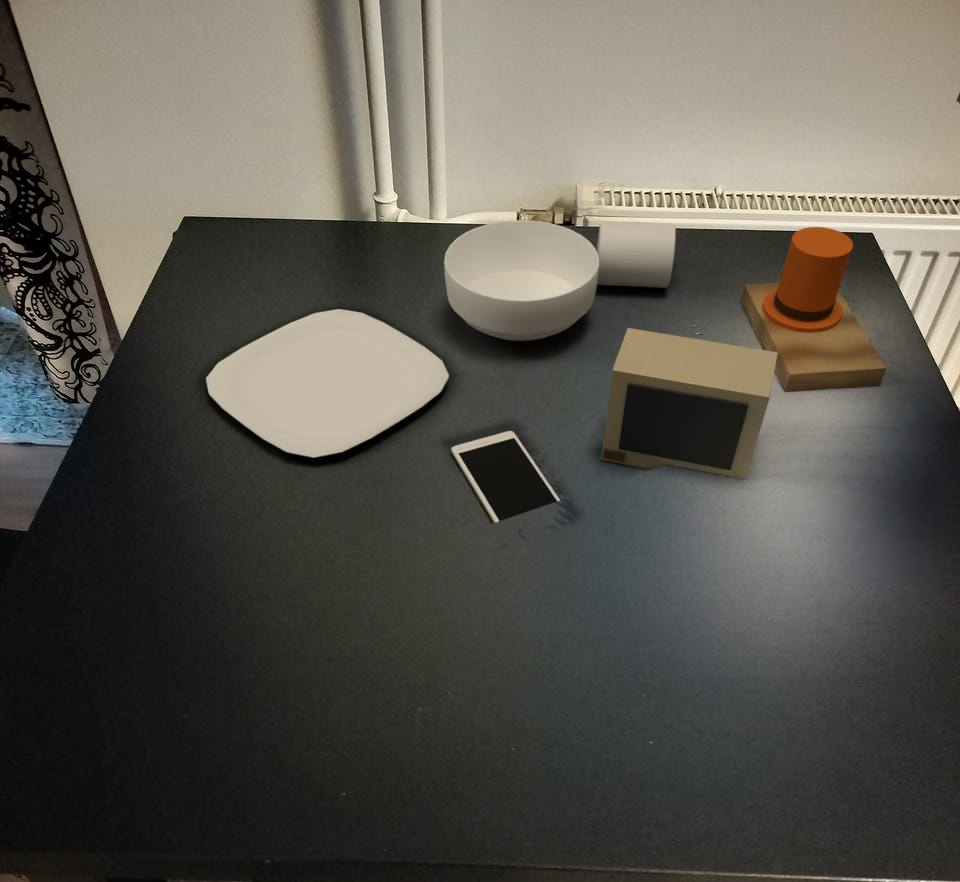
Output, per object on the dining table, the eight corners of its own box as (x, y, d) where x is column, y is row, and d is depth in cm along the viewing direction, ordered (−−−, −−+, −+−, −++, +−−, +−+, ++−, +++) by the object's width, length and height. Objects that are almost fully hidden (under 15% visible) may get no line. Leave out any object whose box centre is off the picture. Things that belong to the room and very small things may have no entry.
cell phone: (505, 543, 93) (505, 539, 92) (450, 451, 102) (449, 446, 101) (573, 523, 95) (573, 518, 94) (512, 433, 104) (512, 429, 103)
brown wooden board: (880, 385, 109) (887, 367, 107) (784, 391, 108) (790, 374, 106) (826, 296, 121) (831, 279, 119) (740, 301, 121) (744, 284, 119)
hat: (853, 306, 115) (878, 237, 108) (821, 341, 111) (844, 272, 103) (783, 281, 119) (801, 213, 112) (748, 314, 114) (766, 245, 107)
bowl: (623, 316, 119) (631, 255, 112) (526, 381, 110) (528, 320, 104) (514, 264, 127) (516, 205, 121) (416, 321, 119) (411, 260, 112)
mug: (667, 299, 121) (677, 242, 115) (594, 296, 122) (599, 239, 116) (664, 254, 129) (673, 198, 122) (595, 251, 129) (601, 195, 123)
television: (751, 442, 103) (777, 352, 93) (742, 489, 98) (769, 399, 88) (615, 417, 106) (627, 327, 96) (600, 461, 101) (611, 371, 91)
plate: (185, 388, 110) (181, 376, 109) (342, 306, 121) (340, 295, 120) (312, 485, 99) (310, 473, 98) (473, 385, 110) (473, 373, 108)
